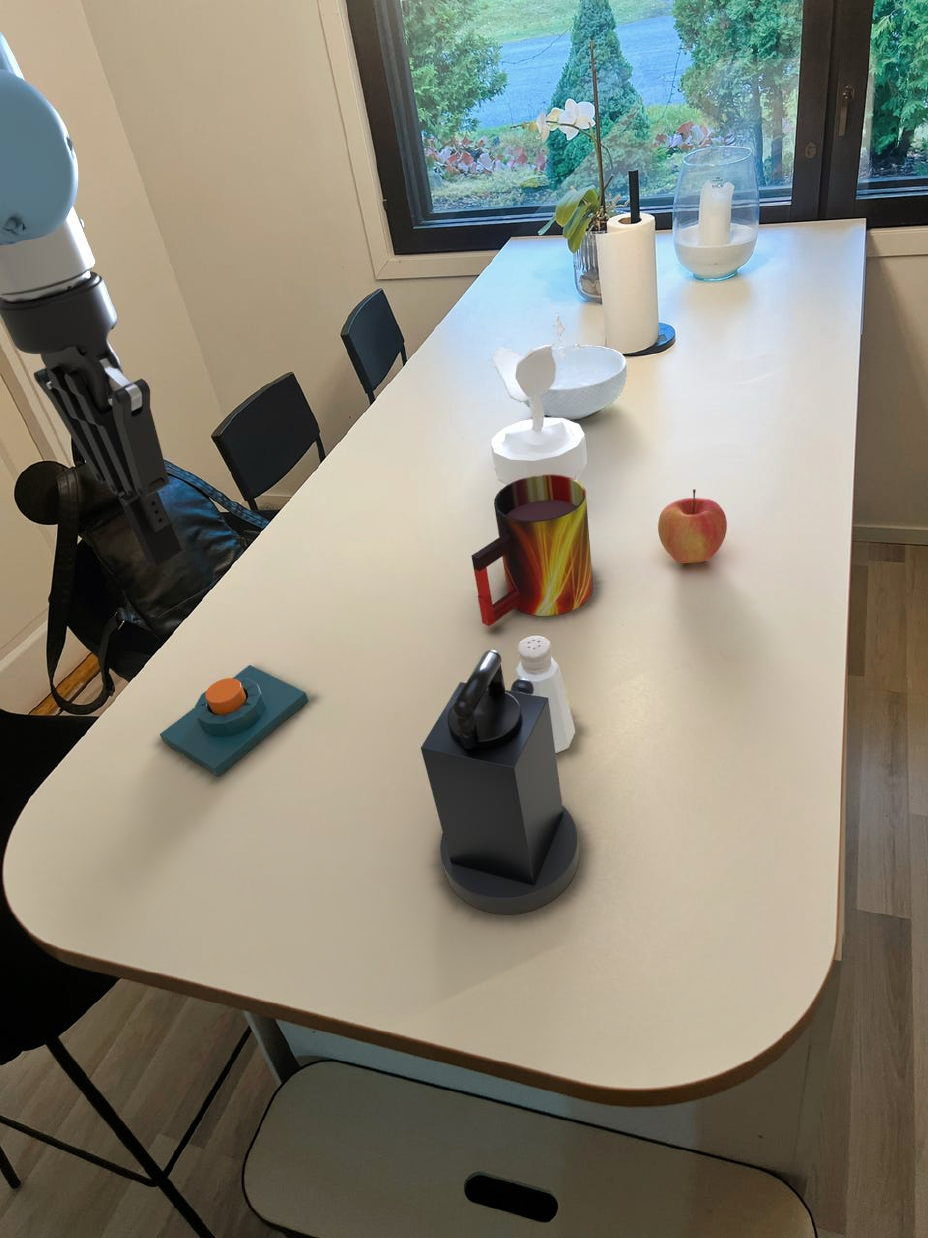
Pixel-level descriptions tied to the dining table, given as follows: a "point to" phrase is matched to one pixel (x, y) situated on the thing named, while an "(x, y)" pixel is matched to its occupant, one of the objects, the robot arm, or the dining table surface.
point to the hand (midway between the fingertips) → (164, 556)
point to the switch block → (234, 722)
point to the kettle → (495, 774)
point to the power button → (225, 696)
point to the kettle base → (513, 894)
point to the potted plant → (535, 420)
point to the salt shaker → (547, 686)
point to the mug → (538, 549)
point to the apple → (692, 529)
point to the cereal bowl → (584, 381)
